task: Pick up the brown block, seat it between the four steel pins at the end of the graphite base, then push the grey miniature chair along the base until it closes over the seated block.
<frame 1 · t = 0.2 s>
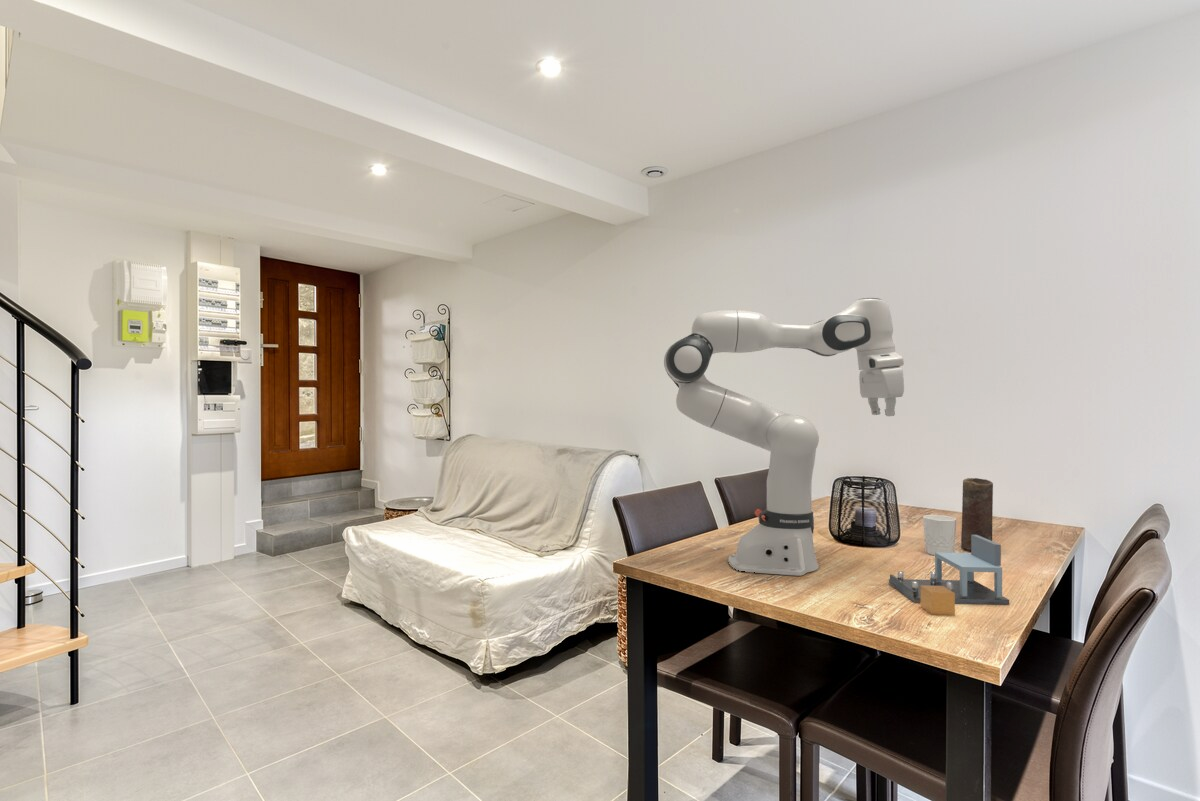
hand: (883, 415, 149), 39 cm above the table, tool pointing down, fingers open, 8 cm apart
white cup: (939, 554, 161), on the table
grey miniature chair: (968, 563, 128), point 7 cm above the table, slide at 0.0 cm
base plate: (945, 593, 129), on the table
dark brown cylinder: (977, 551, 164), on the table
brown block: (937, 611, 118), on the table
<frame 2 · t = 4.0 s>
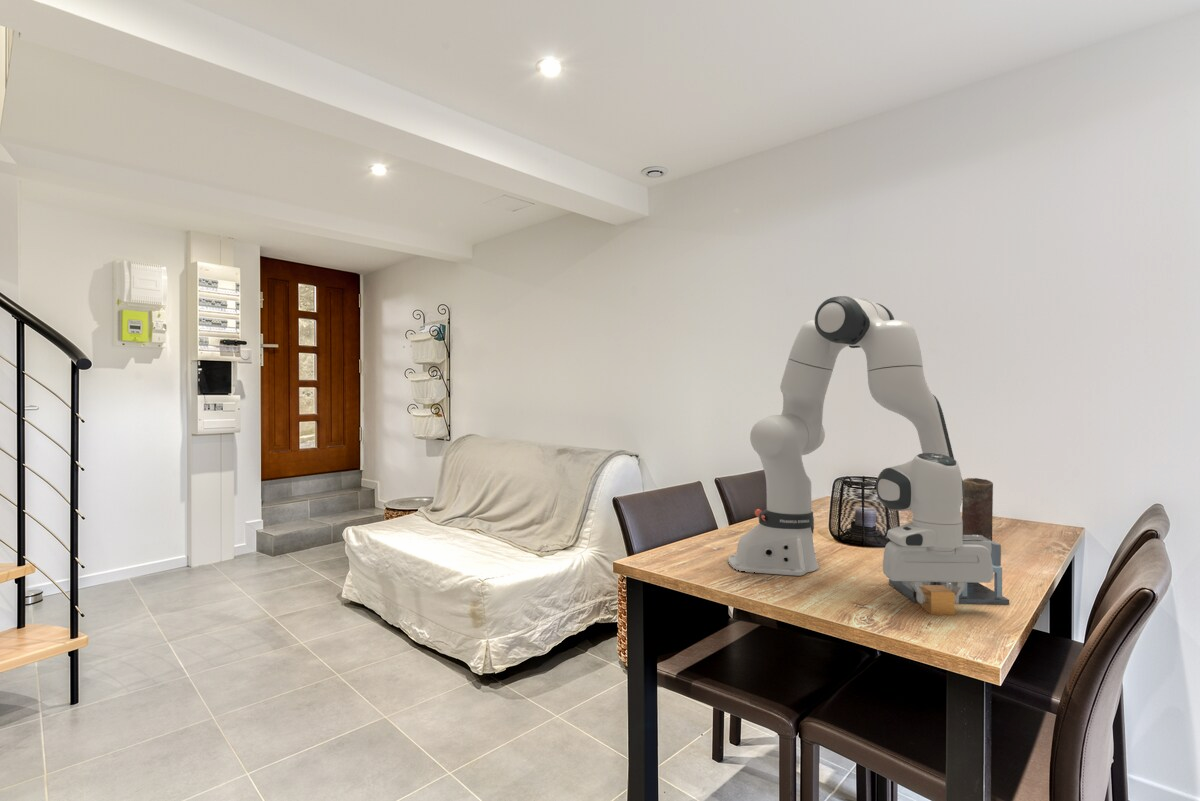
hand: (937, 602, 118), 2 cm above the table, tool pointing down, fingers closed on brown block, 4 cm apart
brown block: (937, 610, 118), on the table, touching gripper
everything else where it was.
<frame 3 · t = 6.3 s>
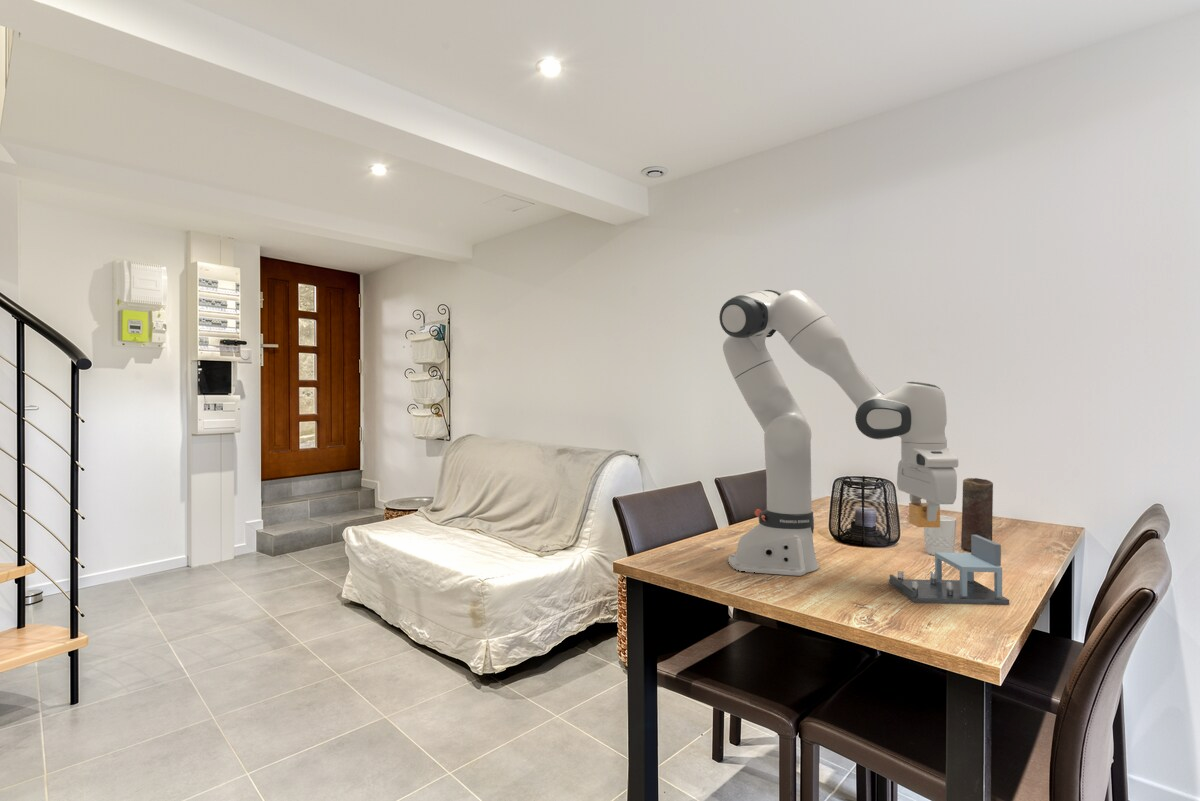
hand: (924, 517, 129), 17 cm above the table, tool pointing down, fingers closed on brown block, 4 cm apart
brown block: (924, 525, 129), point 15 cm above the table, touching gripper
everything else where it was.
when the fingers open (4 cm above the table, at t = 8.9 s): brown block drops 1 cm, resting on base plate.
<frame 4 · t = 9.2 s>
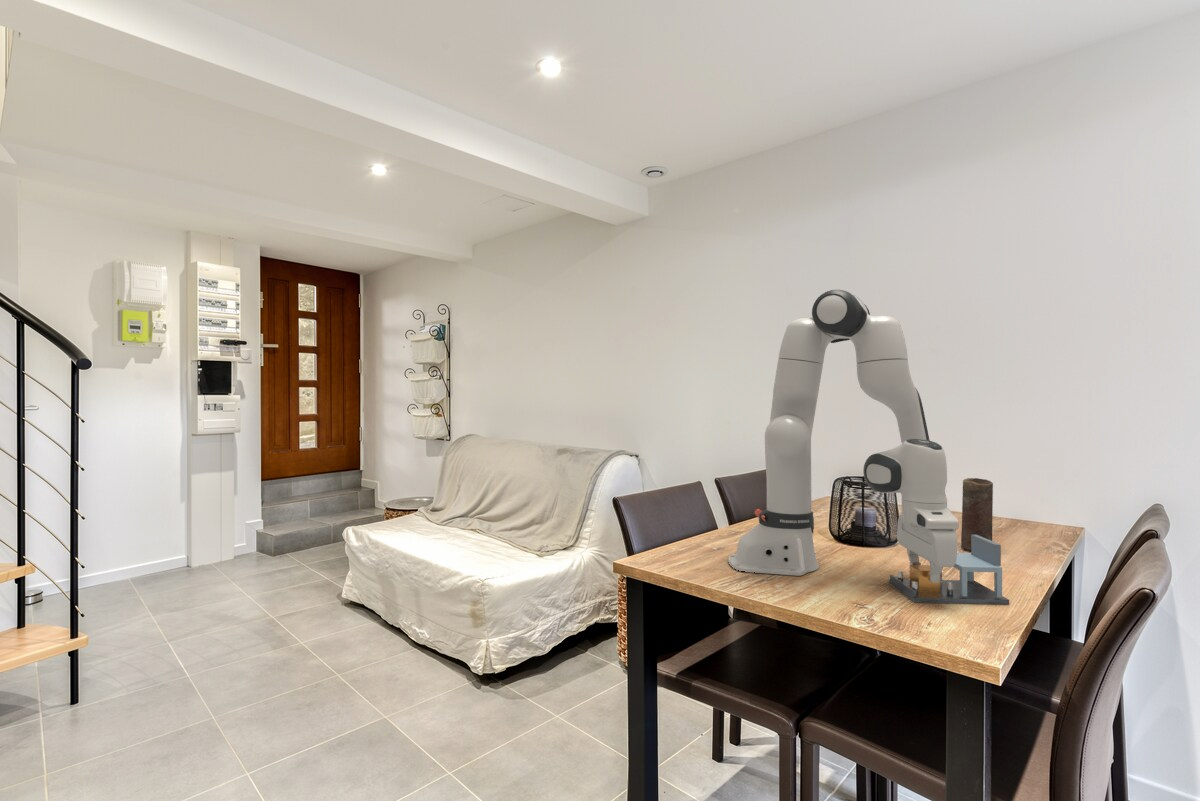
hand: (924, 575, 129), 4 cm above the table, tool pointing down, fingers open, 7 cm apart
brown block: (924, 588, 129), point 1 cm above the table, touching base plate
everything else where it was.
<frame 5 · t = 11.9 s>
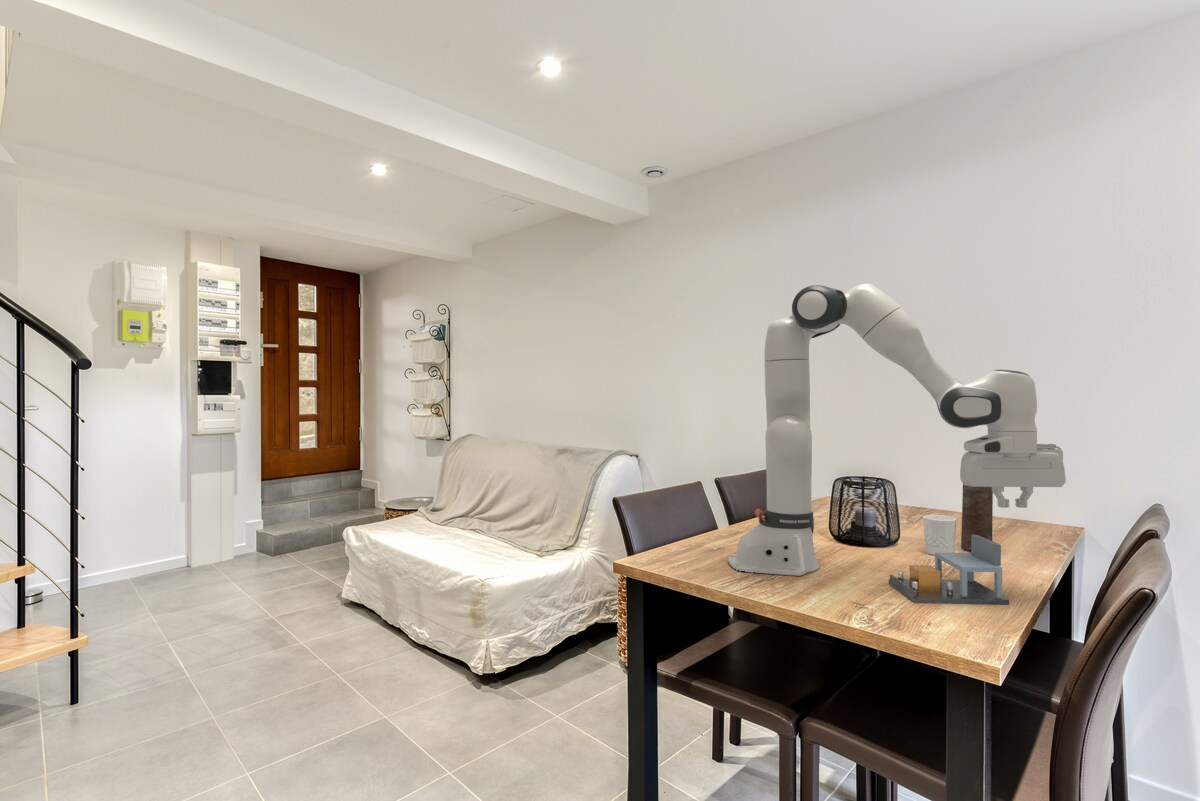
hand: (1012, 507, 127), 19 cm above the table, tool pointing down, fingers closed
nothing on the table moved.
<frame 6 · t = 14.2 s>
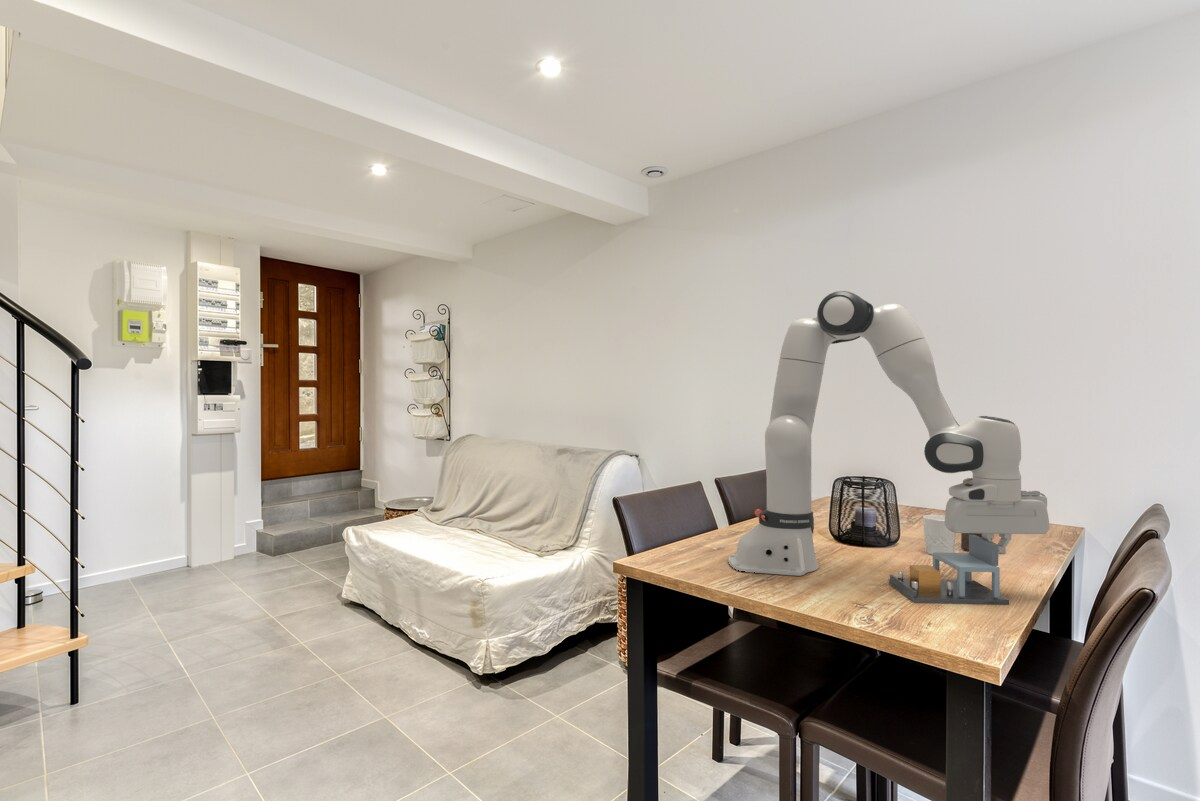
hand: (996, 553, 128), 9 cm above the table, tool pointing down, fingers closed
grey miniature chair: (965, 563, 128), point 7 cm above the table, slide at 0.5 cm, touching gripper
everything else where it was.
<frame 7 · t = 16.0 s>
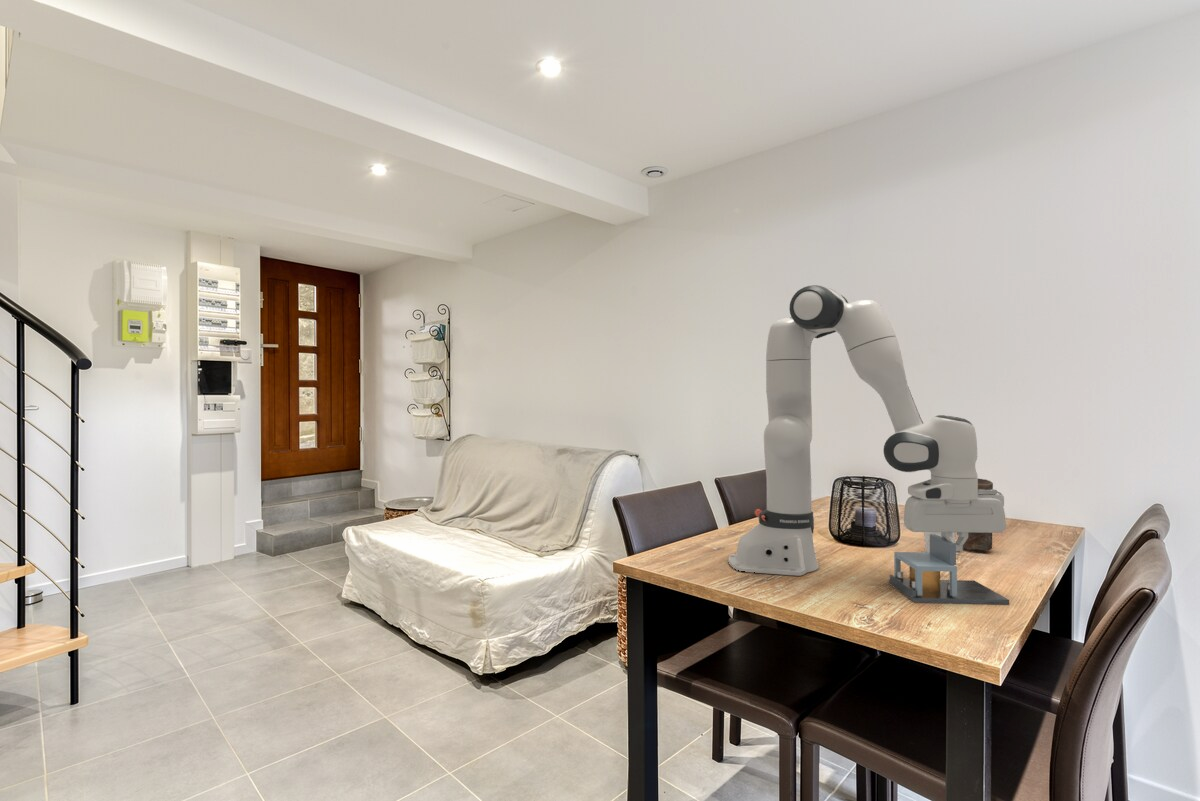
hand: (954, 552, 129), 9 cm above the table, tool pointing down, fingers closed
grey miniature chair: (925, 562, 129), point 7 cm above the table, slide at 9.1 cm, touching gripper
everything else where it was.
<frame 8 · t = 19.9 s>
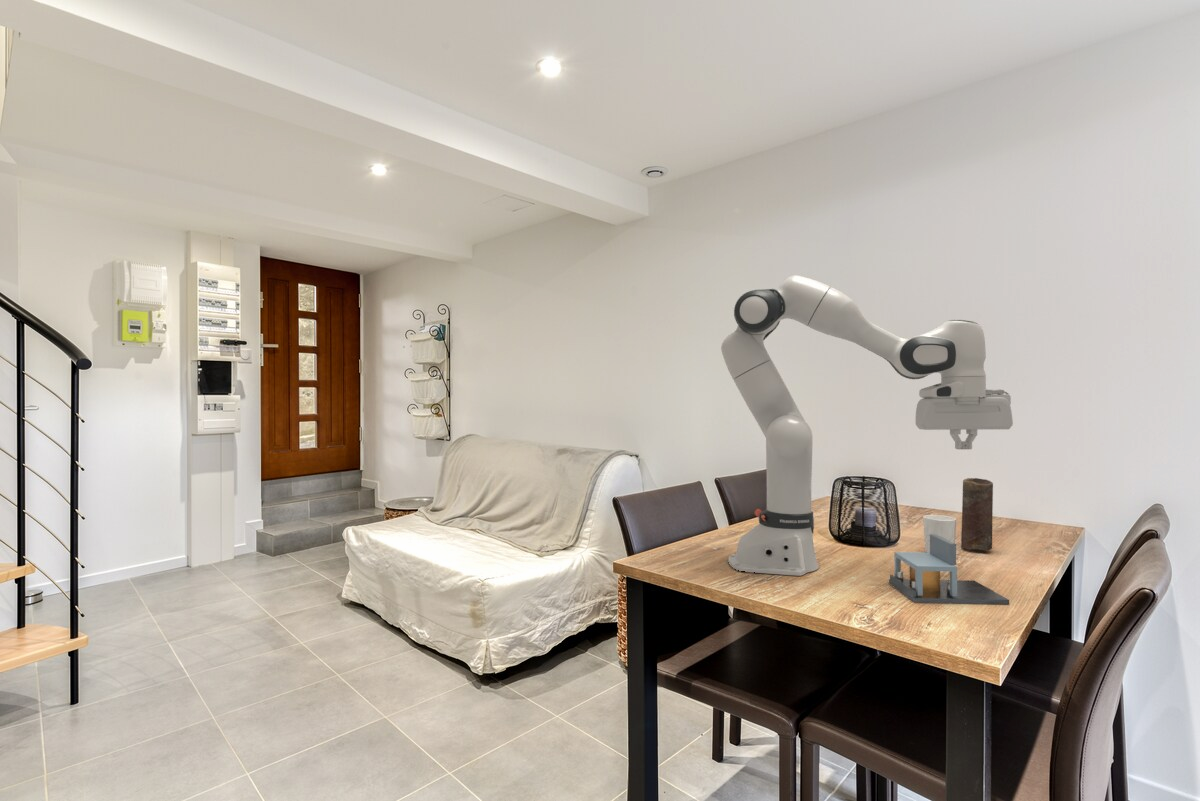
hand: (963, 449, 136), 31 cm above the table, tool pointing down, fingers closed
grey miniature chair: (925, 562, 129), point 7 cm above the table, slide at 9.0 cm
everything else where it was.
at the end: brown block 0.1 cm from the target spot on the base plate, point 1.0 cm above the base plate's base; grey miniature chair slide at 9.0 cm; brown block tilted 0° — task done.
